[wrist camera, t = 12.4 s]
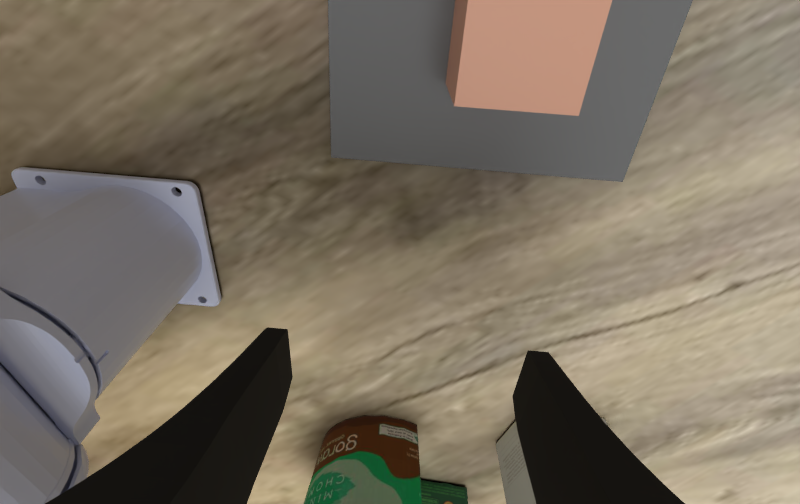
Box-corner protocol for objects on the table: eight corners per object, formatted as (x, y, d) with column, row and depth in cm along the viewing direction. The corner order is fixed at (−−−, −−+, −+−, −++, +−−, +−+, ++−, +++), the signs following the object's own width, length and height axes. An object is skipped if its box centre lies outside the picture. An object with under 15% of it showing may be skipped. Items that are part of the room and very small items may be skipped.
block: (445, 83, 17) (454, 106, 13) (458, -31, 15) (474, -50, 10) (538, 90, 17) (578, 115, 13) (564, -23, 15) (623, -39, 10)
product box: (492, 442, 31) (511, 551, 24) (534, 394, 28) (567, 505, 21) (560, 461, 32) (595, 572, 25) (608, 418, 29) (660, 530, 22)
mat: (333, 153, 19) (331, 157, 19) (327, -201, 13) (324, -209, 13) (617, 177, 19) (622, 181, 19) (745, -166, 13) (759, -173, 13)
